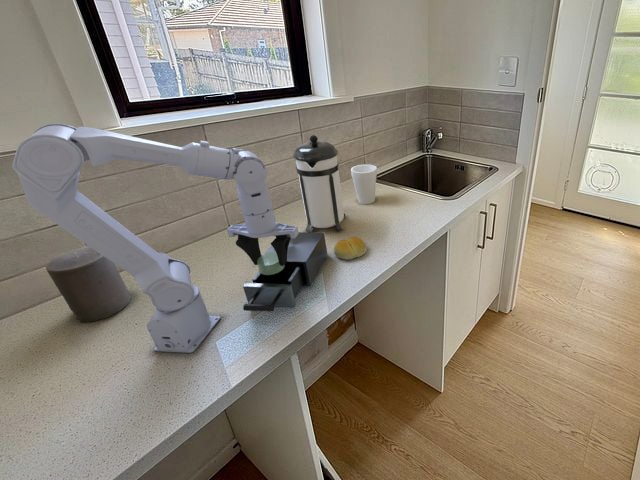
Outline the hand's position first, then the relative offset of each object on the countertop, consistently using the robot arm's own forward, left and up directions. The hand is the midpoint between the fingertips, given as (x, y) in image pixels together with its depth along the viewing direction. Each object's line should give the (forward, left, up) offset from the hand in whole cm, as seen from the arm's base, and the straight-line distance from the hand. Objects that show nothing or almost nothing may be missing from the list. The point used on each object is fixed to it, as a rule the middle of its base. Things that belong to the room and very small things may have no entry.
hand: (271, 262), depth 76 cm
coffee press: (+37, +1, -10) cm, 38 cm away
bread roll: (+20, -12, -10) cm, 25 cm away
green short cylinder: (0, 0, -1) cm, 1 cm away
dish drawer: (-1, 0, -9) cm, 9 cm away
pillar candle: (-5, +39, -10) cm, 40 cm away
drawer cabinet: (+11, 0, -10) cm, 14 cm away
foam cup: (+55, -9, -10) cm, 56 cm away
